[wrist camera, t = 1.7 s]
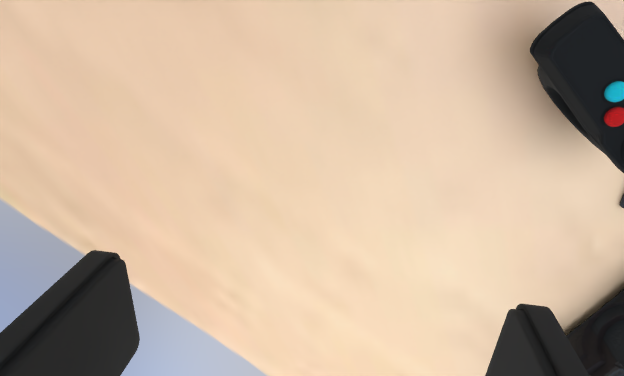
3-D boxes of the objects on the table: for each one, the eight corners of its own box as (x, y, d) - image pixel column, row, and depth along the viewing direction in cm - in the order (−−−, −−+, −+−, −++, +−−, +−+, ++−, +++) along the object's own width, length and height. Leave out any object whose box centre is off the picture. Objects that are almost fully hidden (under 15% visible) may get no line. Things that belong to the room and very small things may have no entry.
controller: (581, 153, 32) (664, 214, 23) (490, 37, 29) (545, 56, 20) (636, 117, 30) (747, 169, 21) (545, -10, 27) (630, -10, 19)
